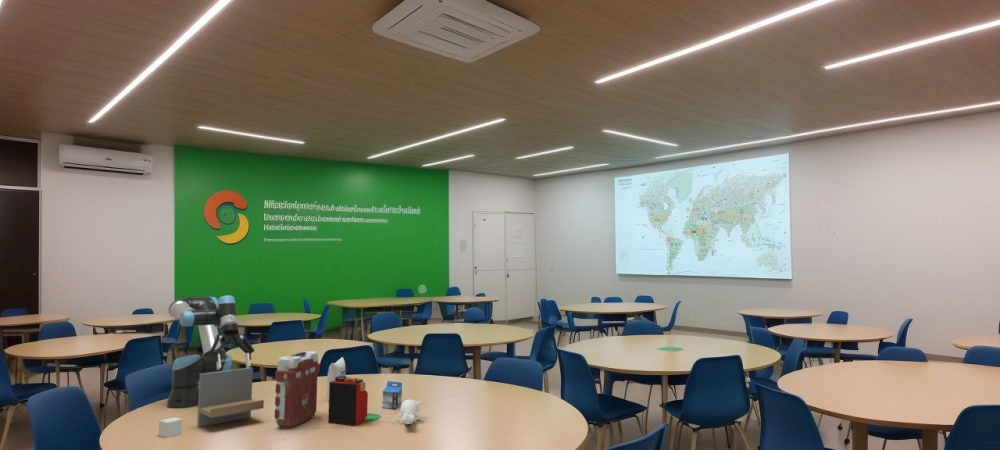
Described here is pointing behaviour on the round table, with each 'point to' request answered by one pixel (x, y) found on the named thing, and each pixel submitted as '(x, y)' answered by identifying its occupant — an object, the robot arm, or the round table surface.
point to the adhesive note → (170, 427)
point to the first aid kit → (296, 388)
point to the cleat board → (226, 396)
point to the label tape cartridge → (392, 395)
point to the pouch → (335, 372)
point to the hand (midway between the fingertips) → (234, 367)
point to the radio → (347, 401)
